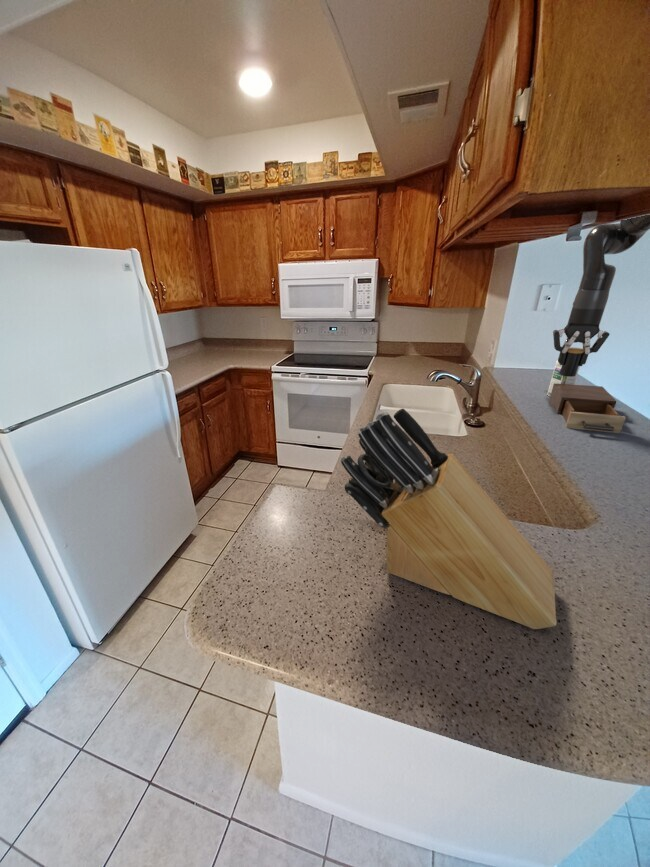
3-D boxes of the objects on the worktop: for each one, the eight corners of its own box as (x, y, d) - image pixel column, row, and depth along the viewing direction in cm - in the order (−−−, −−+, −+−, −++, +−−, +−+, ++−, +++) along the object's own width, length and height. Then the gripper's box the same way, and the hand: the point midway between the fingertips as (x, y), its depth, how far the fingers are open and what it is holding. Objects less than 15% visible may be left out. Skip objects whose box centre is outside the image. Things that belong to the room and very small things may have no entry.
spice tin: (574, 373, 104) (582, 347, 100) (577, 377, 100) (586, 351, 96) (557, 372, 105) (565, 347, 102) (560, 376, 102) (568, 350, 98)
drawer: (623, 441, 96) (631, 423, 93) (568, 435, 100) (574, 418, 98) (604, 417, 110) (610, 401, 107) (557, 413, 115) (561, 397, 112)
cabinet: (608, 423, 108) (616, 401, 105) (555, 418, 114) (562, 397, 110) (595, 406, 120) (602, 386, 117) (548, 402, 126) (553, 383, 122)
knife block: (363, 520, 73) (363, 389, 59) (548, 582, 57) (609, 422, 43) (340, 555, 65) (333, 413, 51) (550, 640, 49) (627, 464, 34)
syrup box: (545, 395, 132) (555, 360, 126) (558, 393, 133) (568, 358, 127) (558, 400, 127) (568, 363, 121) (570, 398, 128) (581, 361, 122)
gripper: (561, 307, 93) (545, 366, 101) (624, 308, 88) (602, 370, 96) (556, 304, 99) (541, 360, 107) (615, 304, 94) (595, 363, 102)
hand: (570, 364), depth 101 cm, fingers closed on spice tin, 4 cm apart
